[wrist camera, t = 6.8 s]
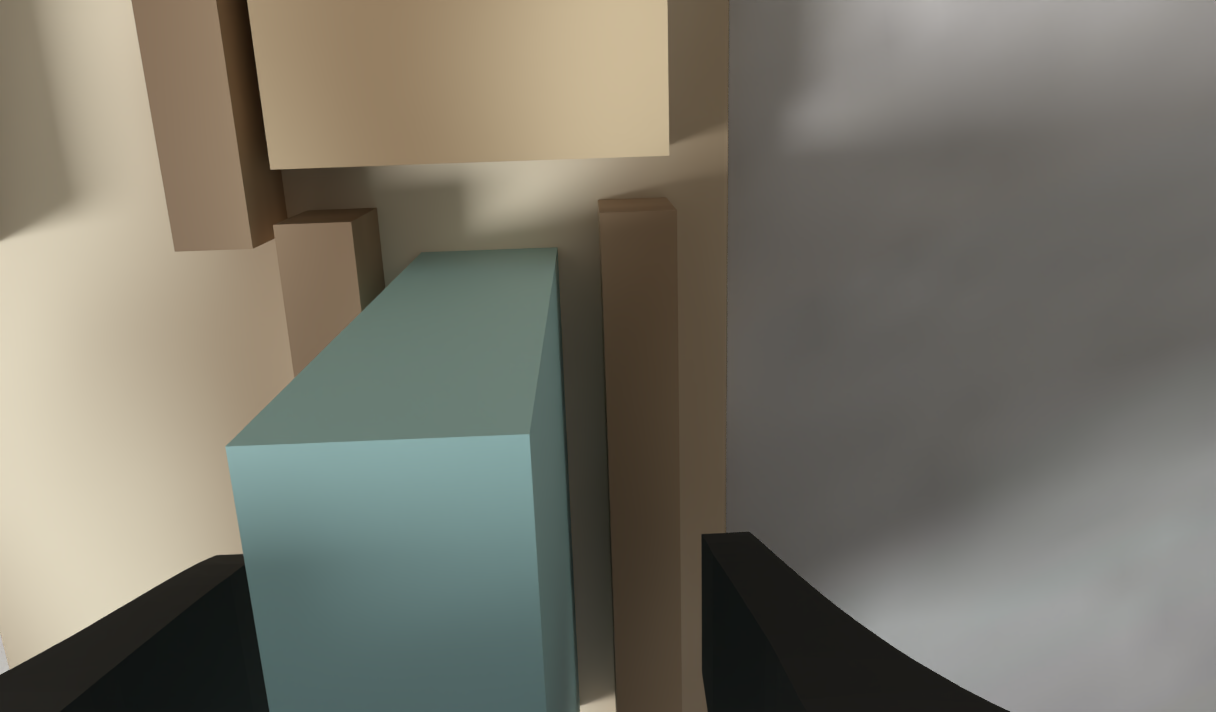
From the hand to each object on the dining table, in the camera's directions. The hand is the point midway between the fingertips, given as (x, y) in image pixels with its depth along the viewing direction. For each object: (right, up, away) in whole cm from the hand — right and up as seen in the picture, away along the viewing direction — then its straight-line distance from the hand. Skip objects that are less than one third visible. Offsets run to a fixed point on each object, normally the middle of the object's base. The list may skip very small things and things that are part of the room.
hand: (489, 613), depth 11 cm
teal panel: (0, +1, +3) cm, 3 cm away
